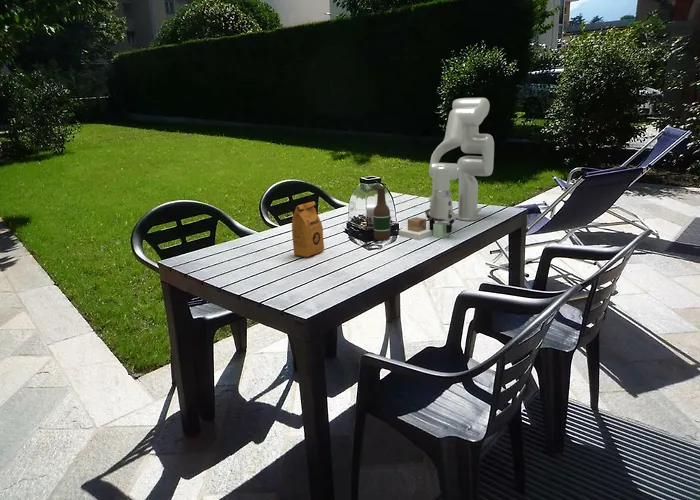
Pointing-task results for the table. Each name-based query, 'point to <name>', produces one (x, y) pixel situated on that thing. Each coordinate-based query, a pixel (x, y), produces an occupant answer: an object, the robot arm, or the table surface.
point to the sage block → (440, 230)
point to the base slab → (416, 233)
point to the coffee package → (307, 231)
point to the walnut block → (416, 224)
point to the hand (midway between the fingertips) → (440, 230)
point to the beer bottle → (381, 217)
